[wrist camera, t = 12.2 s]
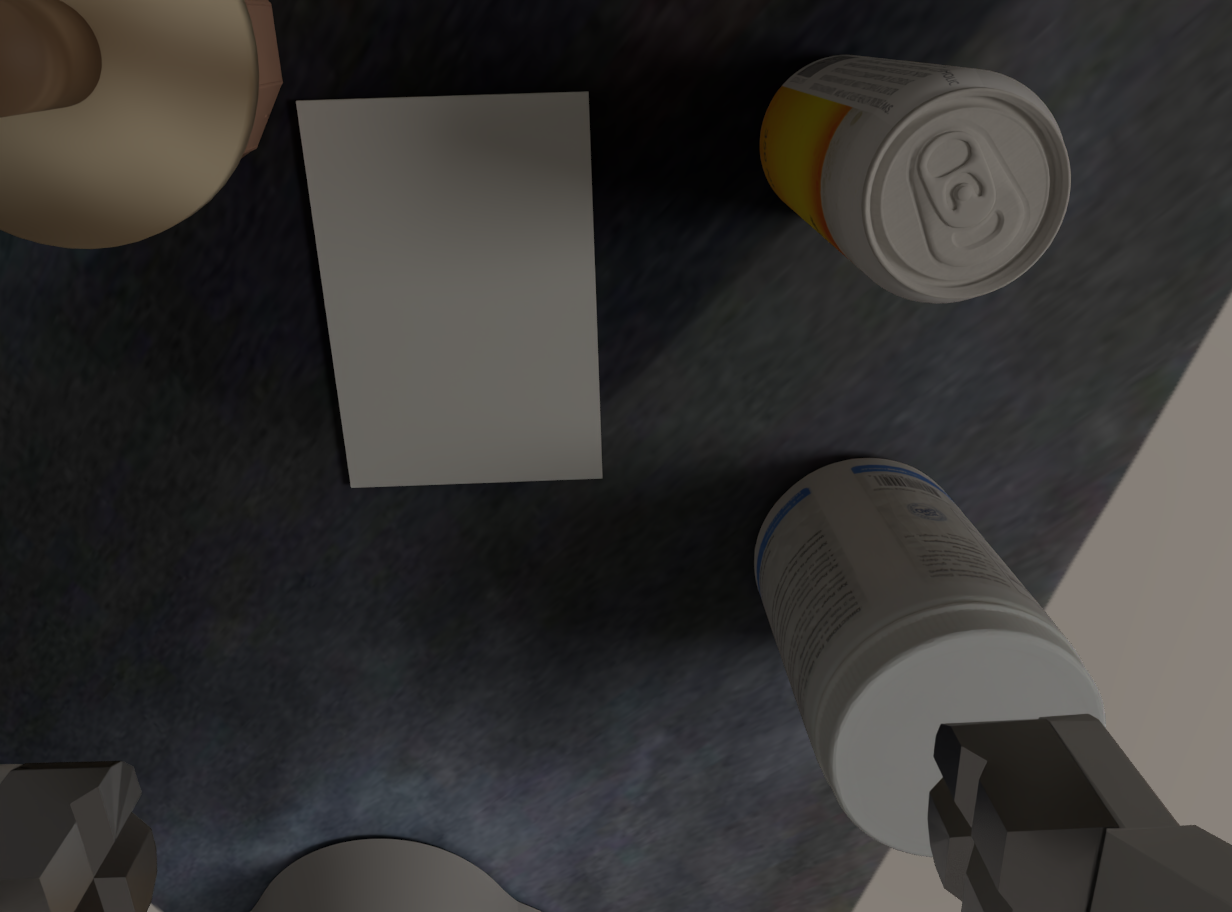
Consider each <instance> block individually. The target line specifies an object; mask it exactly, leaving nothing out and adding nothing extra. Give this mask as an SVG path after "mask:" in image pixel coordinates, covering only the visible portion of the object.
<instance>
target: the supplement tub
mask: <svg viewBox="0 0 1232 912" xmlns="http://www.w3.org/2000/svg"><path fill="white" fill-rule="evenodd" d="M754 571H755V579H756V584H757V588H758V591H759V593H760V596H761V599H762V602H763V605H764V608H765V611H766V614H767V617H768V620H769V623H770V626H771V629H772V632H773V635H774V638H775V641H776V644H777V647H778V650H779V652H780V655H781V658H782V661H783V664H784V667H785V670H786V673H787V676H788V678H789V681H790V684H791V687H792V690H793V693H794V696H795V699H796V702H797V705H798V708H799V711H800V714H801V716H802V719H803V722H804V725H805V728H806V731H807V734H808V737H809V739H810V742H811V745H812V748H813V750H814V753H815V756H816V758H817V761H818V763H819V765H820V768H821V769H822V772H823V774H824V776H825V778H826V780H827V782H828V783H829V785H830V786H831V788H832V790H833V792H834V794H835V797H836V799H837V801H838V803H839V804H840V806H841V808H842V809H843V811H844V812H845V813H846V815H847V816H848V817H849V819H850V820H851V821H852V822H853V823H854V824H855V825H856V826H857V827H858V828H859V829H861V830H862V831H863V832H864V833H866V834H867V835H868V836H870V837H871V838H873V839H875V840H876V841H878V842H880V843H882V844H884V845H886V846H888V847H891V848H893V849H896V850H899V851H902V852H906V853H910V854H914V855H920V856H926V857H933V855H932V851H931V848H930V840H929V830H928V820H927V816H928V803H929V792H930V790H931V789H932V788H933V787H934V786H935V785H936V784H937V783H938V782H939V781H940V780H941V779H942V777H943V776H942V774H941V772H940V770H939V768H938V766H937V763H936V761H935V759H934V757H933V754H934V746H935V738H936V734H937V732H938V729H939V727H940V725H941V724H945V723H965V722H984V721H1004V720H1023V719H1038V718H1039V717H1048V716H1062V715H1076V714H1090V715H1092V716H1094V717H1095V718H1097V719H1099V720H1100V722H1101V723H1102V724H1103V726H1104V727H1105V728H1106V718H1105V711H1104V705H1103V701H1102V698H1101V695H1100V692H1099V689H1098V687H1097V685H1096V683H1095V682H1094V680H1093V678H1092V677H1091V675H1090V674H1089V672H1088V671H1087V670H1086V668H1085V666H1084V664H1083V662H1082V660H1081V658H1080V656H1079V654H1078V653H1077V651H1076V650H1075V648H1074V647H1073V645H1072V644H1071V643H1070V642H1069V641H1068V640H1067V638H1066V637H1065V636H1064V634H1063V633H1062V632H1061V631H1060V629H1059V628H1058V627H1057V626H1056V625H1055V623H1054V622H1053V621H1052V620H1051V618H1050V617H1049V616H1048V615H1047V613H1046V612H1045V611H1044V610H1043V609H1042V607H1041V606H1040V605H1039V604H1038V603H1037V601H1036V600H1035V599H1034V598H1033V597H1032V595H1031V594H1030V593H1029V592H1028V591H1027V589H1026V588H1025V587H1024V586H1023V585H1022V583H1021V582H1020V581H1019V580H1018V579H1017V577H1016V576H1015V575H1014V574H1013V573H1012V571H1011V570H1010V569H1009V568H1008V567H1007V565H1006V564H1005V563H1004V562H1003V561H1002V559H1001V558H1000V557H999V556H998V554H997V553H996V552H995V551H994V550H993V549H992V548H991V546H990V545H989V544H988V543H987V542H986V540H985V539H984V538H983V537H982V535H981V534H980V533H979V532H978V531H977V529H976V528H975V527H974V526H973V525H972V523H971V522H970V521H969V520H968V519H967V517H966V516H965V515H964V514H963V513H962V511H961V510H960V509H959V508H958V507H957V505H956V504H955V503H954V502H953V501H952V499H951V498H950V497H949V496H948V495H947V494H946V492H945V491H944V490H943V489H942V488H941V487H940V486H939V485H938V484H937V483H936V482H935V481H933V480H932V479H931V478H930V477H928V476H927V475H925V474H924V473H923V472H921V471H919V470H917V469H915V468H913V467H911V466H909V465H906V464H903V463H900V462H896V461H892V460H887V459H880V458H857V459H849V460H844V461H840V462H836V463H833V464H829V465H827V466H824V467H822V468H820V469H818V470H816V471H814V472H812V473H810V474H808V475H807V476H805V477H804V478H802V479H801V480H799V481H798V482H797V483H796V484H794V485H793V486H792V487H791V488H790V489H789V490H788V491H787V492H786V493H785V494H783V495H782V497H781V498H780V499H779V500H778V501H777V502H776V503H775V505H774V506H773V507H772V509H771V510H770V512H769V513H768V515H767V517H766V518H765V520H764V522H763V524H762V526H761V529H760V532H759V534H758V537H757V542H756V546H755V553H754Z"/></svg>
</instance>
